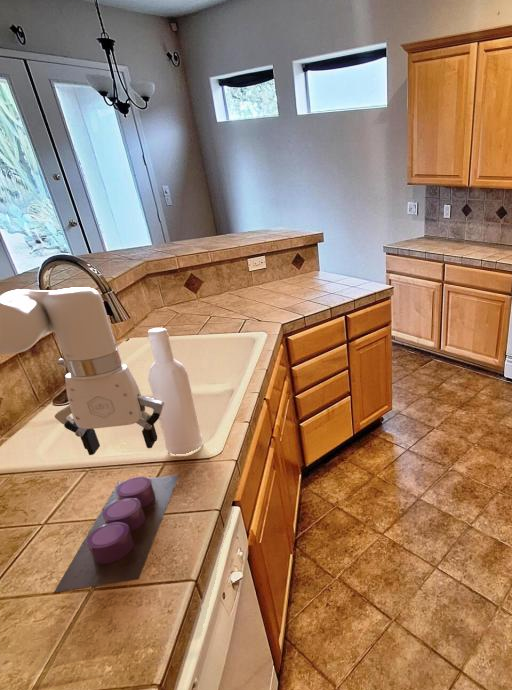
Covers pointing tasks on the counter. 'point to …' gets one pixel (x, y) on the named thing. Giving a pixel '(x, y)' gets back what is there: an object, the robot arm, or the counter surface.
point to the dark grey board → (130, 566)
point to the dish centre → (125, 513)
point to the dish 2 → (137, 490)
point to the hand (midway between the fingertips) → (123, 447)
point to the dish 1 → (110, 542)
